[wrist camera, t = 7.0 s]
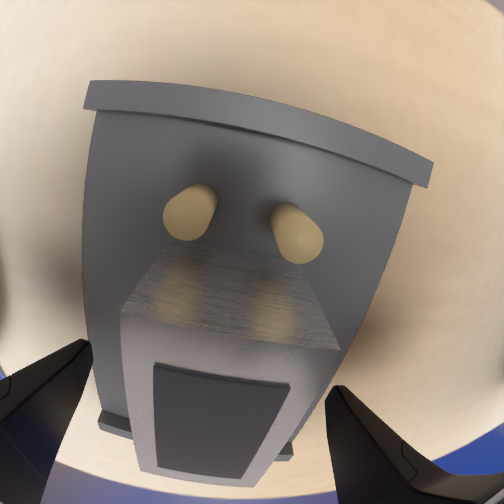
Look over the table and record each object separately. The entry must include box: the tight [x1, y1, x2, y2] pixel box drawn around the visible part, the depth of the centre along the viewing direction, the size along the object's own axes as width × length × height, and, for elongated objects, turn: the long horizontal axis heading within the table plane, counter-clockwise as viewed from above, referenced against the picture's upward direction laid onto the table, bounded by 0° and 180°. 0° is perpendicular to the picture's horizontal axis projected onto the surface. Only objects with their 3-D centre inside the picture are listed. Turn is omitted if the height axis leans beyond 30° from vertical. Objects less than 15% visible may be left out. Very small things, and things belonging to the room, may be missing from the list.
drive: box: [120, 237, 341, 487], centre depth 9 cm, size 4×8×5 cm, turn 167°
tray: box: [82, 80, 434, 461], centre depth 10 cm, size 12×18×4 cm, turn 167°
